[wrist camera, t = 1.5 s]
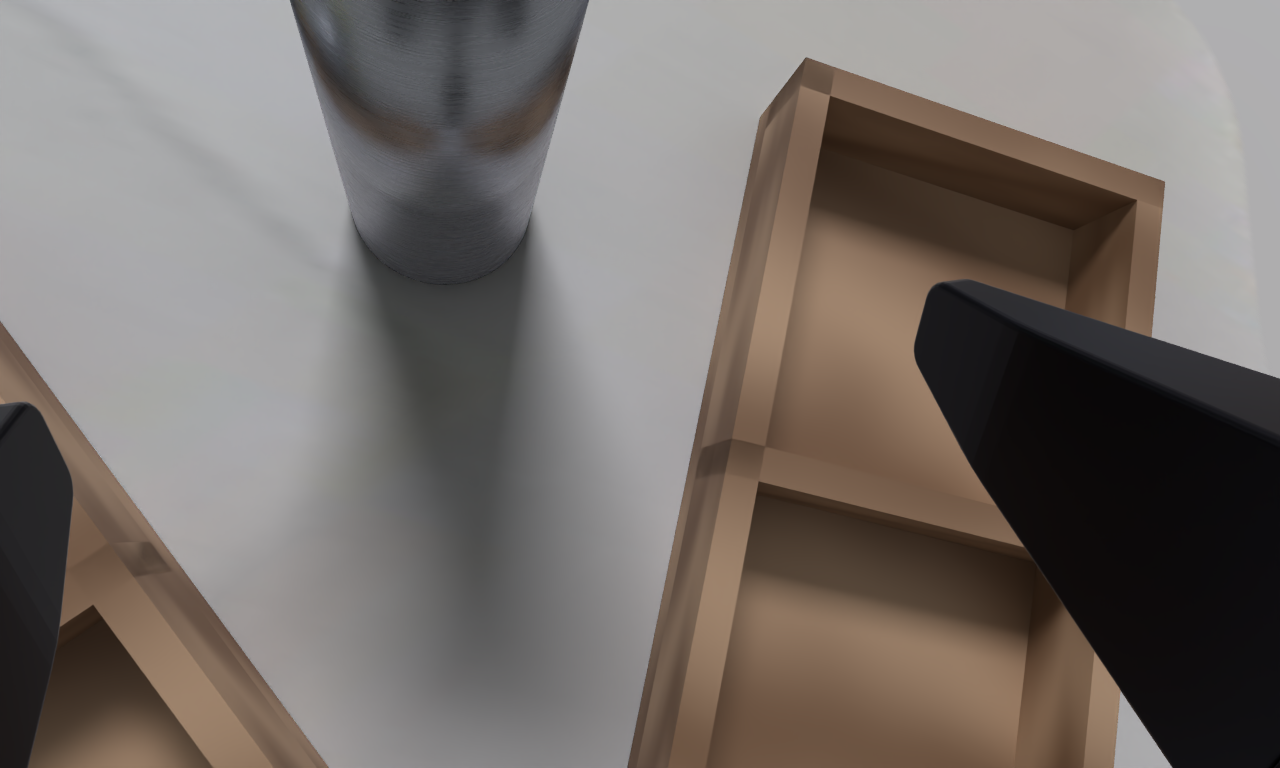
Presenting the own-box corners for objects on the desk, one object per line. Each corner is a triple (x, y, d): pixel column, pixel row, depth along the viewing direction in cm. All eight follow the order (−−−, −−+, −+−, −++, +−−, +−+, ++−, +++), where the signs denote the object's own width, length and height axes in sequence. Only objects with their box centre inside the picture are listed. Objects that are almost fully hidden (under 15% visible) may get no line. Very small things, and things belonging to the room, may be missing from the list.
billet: (565, 200, 23) (692, -144, 11) (447, 320, 21) (451, 73, 10) (437, 83, 22) (430, -392, 11) (310, 197, 21) (151, -202, 10)
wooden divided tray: (1000, 951, 22) (1091, 1020, 19) (602, 891, 20) (631, 956, 17) (1080, 222, 26) (1164, 181, 23) (760, 117, 24) (805, 57, 21)
